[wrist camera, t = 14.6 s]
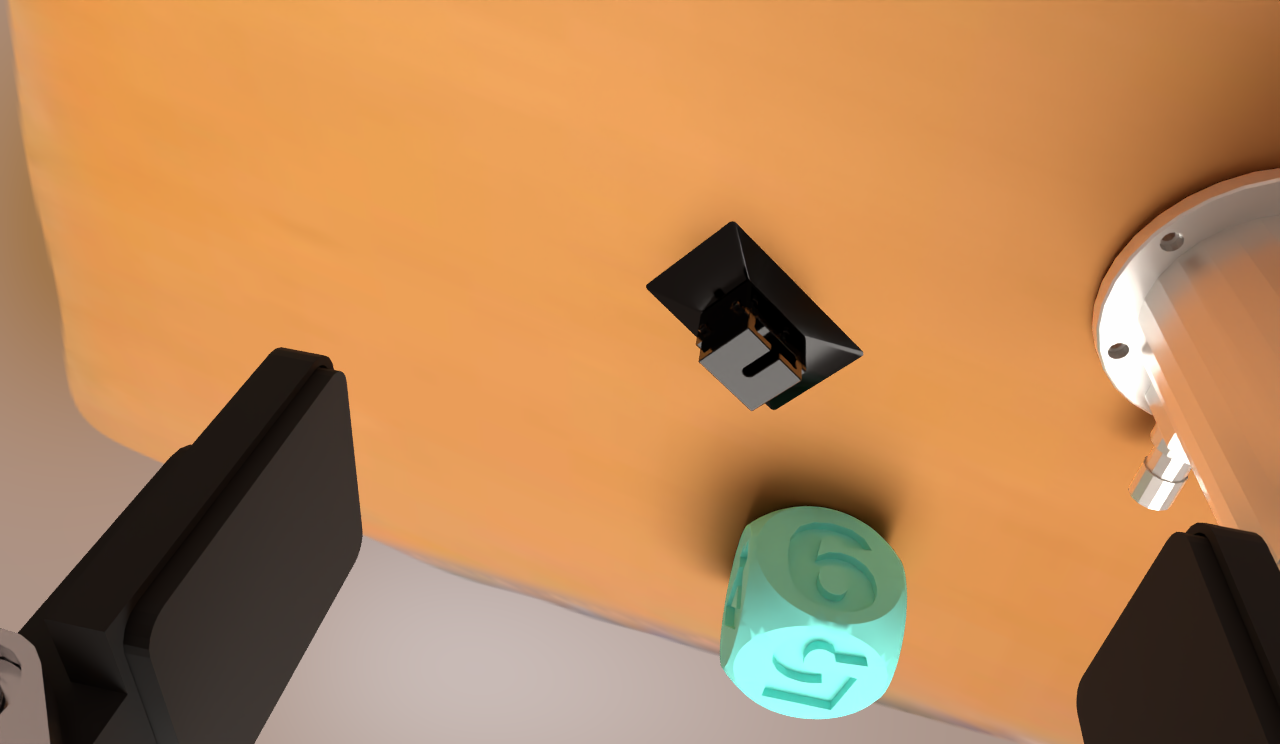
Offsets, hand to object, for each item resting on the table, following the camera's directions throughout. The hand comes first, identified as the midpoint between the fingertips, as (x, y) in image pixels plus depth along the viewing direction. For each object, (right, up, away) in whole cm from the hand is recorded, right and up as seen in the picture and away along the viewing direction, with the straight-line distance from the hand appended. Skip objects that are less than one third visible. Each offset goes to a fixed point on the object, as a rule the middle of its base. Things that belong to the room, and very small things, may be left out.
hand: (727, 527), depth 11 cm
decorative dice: (+9, -8, +43) cm, 45 cm away
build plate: (+4, +5, +34) cm, 35 cm away
